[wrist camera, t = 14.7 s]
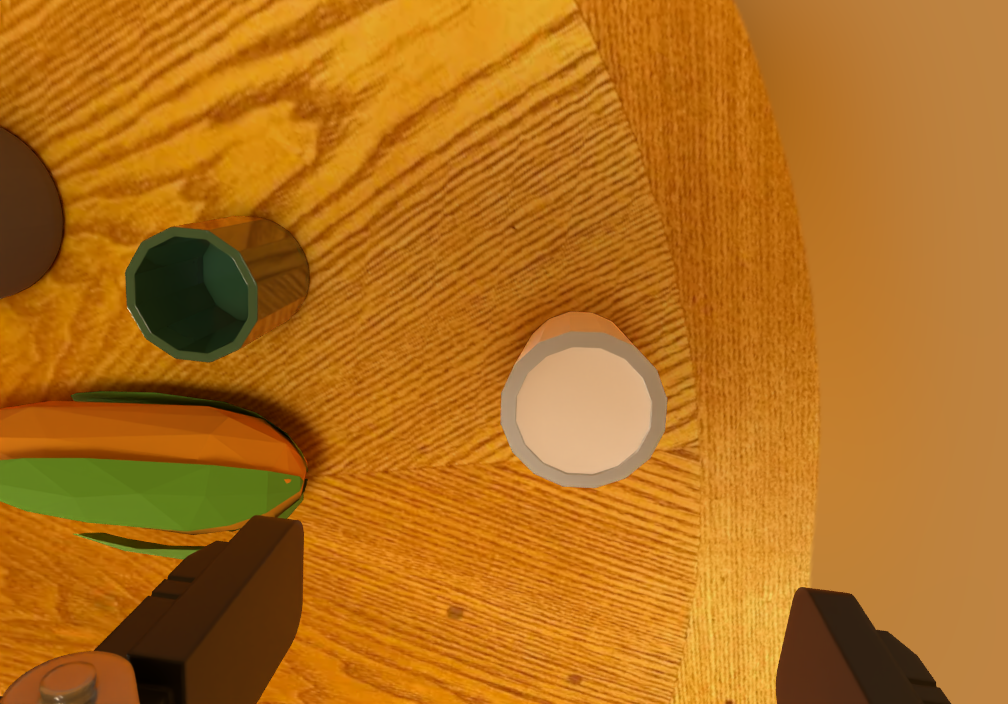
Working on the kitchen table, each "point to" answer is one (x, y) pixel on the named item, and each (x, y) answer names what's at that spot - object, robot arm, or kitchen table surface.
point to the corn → (148, 465)
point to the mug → (26, 216)
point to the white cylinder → (582, 403)
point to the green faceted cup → (215, 285)
